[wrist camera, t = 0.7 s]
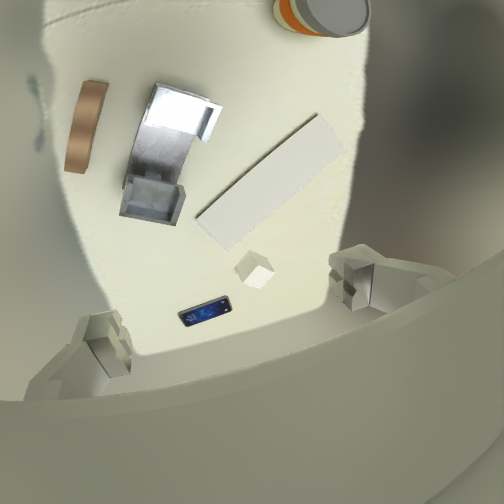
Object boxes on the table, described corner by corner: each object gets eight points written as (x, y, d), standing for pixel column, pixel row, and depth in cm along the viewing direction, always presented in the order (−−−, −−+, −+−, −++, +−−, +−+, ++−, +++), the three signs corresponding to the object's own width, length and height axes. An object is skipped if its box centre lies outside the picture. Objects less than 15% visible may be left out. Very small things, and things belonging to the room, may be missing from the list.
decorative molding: (195, 213, 61) (225, 242, 65) (195, 220, 56) (227, 251, 61) (311, 114, 55) (336, 148, 59) (320, 113, 50) (346, 150, 55)
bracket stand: (156, 82, 39) (157, 85, 30) (208, 98, 44) (224, 106, 35) (122, 185, 48) (117, 216, 39) (170, 196, 53) (176, 227, 44)
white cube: (266, 257, 72) (275, 273, 68) (252, 274, 74) (259, 289, 70) (249, 249, 69) (258, 265, 64) (235, 266, 71) (242, 282, 66)
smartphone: (233, 311, 80) (186, 328, 78) (232, 308, 81) (185, 325, 79) (227, 296, 75) (176, 314, 73) (226, 293, 76) (176, 311, 74)
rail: (88, 80, 34) (83, 81, 31) (108, 83, 36) (105, 84, 33) (69, 163, 41) (63, 171, 38) (88, 166, 43) (83, 174, 40)
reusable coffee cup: (329, 4, 36) (380, -3, 25) (310, 49, 42) (359, 51, 31) (276, -24, 30) (319, -45, 19) (253, 24, 37) (291, 12, 26)
